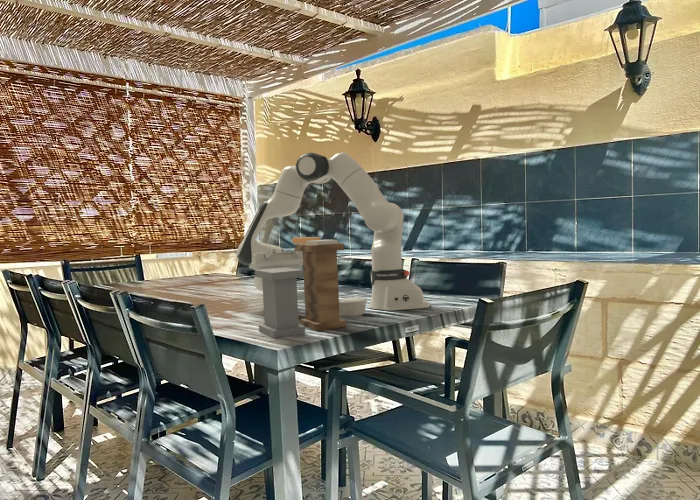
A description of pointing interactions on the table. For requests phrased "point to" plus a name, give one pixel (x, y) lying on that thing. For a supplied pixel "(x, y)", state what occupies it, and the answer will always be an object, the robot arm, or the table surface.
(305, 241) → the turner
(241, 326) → the table surface
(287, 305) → the low stand
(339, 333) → the table surface
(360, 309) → the ramekin
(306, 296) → the tall stand
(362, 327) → the table surface
